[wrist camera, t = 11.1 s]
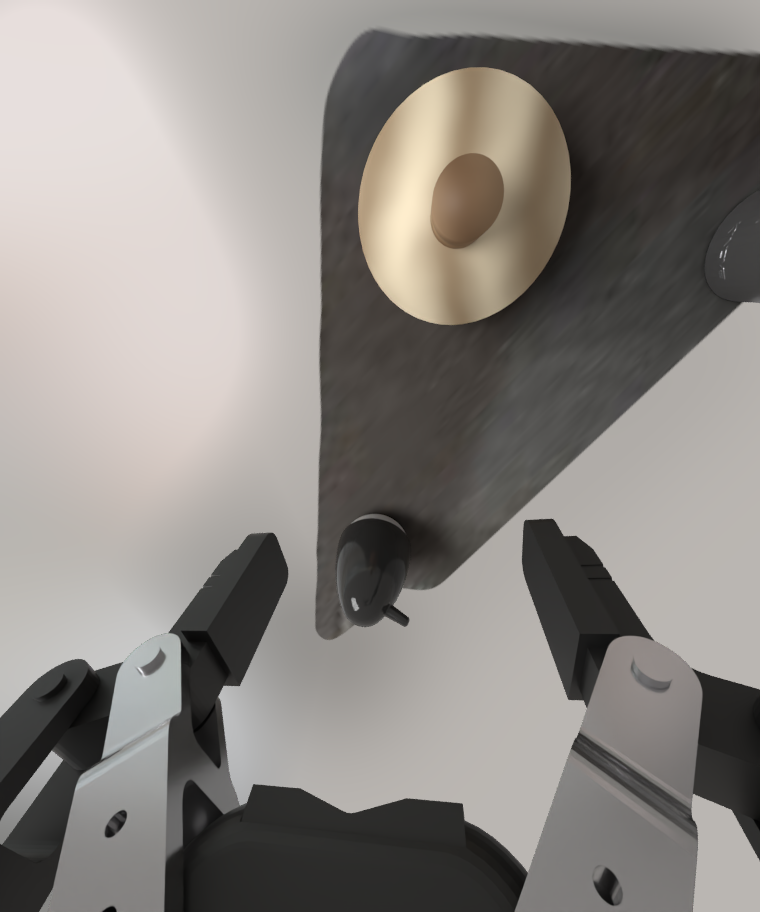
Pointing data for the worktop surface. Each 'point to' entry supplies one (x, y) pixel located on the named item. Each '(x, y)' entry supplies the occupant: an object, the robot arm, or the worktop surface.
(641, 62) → the worktop surface
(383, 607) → the pump dispenser
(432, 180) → the lid
